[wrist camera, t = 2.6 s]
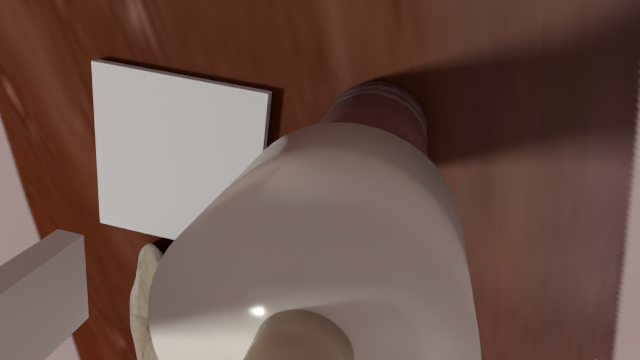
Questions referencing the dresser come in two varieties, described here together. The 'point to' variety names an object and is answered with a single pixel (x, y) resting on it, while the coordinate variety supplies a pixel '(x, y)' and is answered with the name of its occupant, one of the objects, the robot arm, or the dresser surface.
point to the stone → (143, 302)
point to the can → (382, 111)
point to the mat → (170, 144)
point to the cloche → (321, 259)
